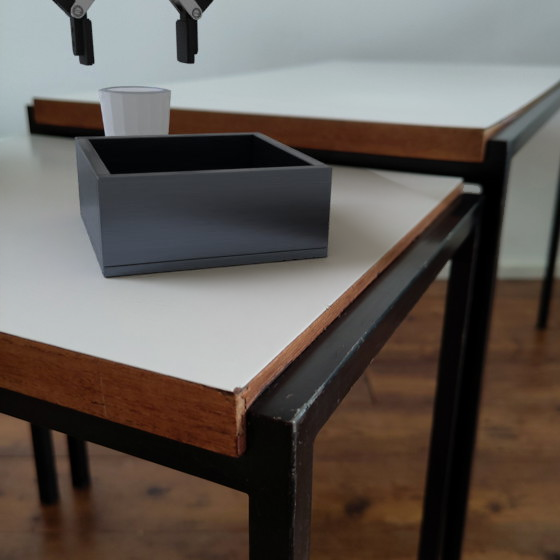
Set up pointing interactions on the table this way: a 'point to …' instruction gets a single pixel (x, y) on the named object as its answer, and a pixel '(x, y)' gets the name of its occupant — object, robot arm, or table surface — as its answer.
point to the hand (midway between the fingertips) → (137, 63)
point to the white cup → (135, 110)
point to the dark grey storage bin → (200, 201)
